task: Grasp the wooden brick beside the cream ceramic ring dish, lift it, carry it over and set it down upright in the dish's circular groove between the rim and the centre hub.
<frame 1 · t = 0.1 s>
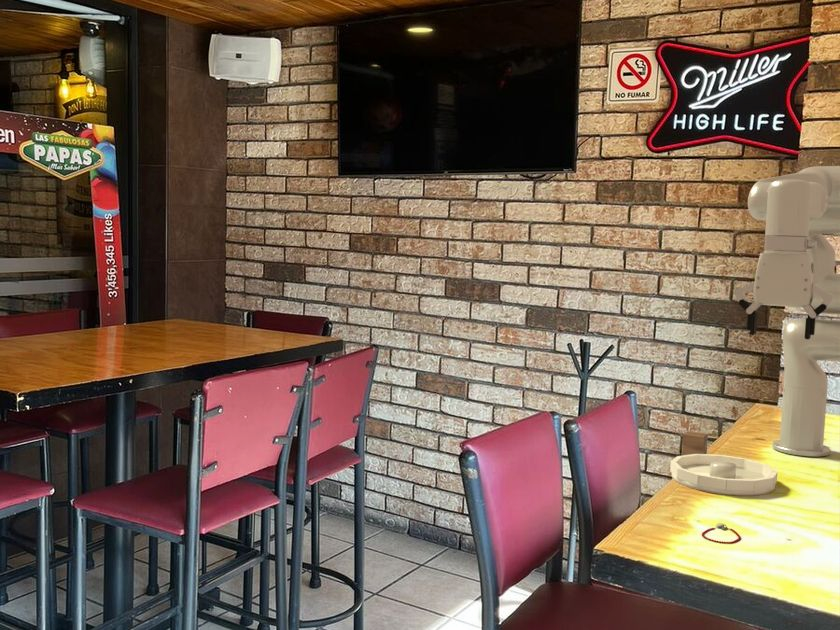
hand: (779, 336, 159), 31 cm above the table, fingers open, 9 cm apart
wooden brick: (694, 460, 189), on the table
red cord bracelet: (722, 537, 140), on the table
dish: (722, 480, 172), on the table
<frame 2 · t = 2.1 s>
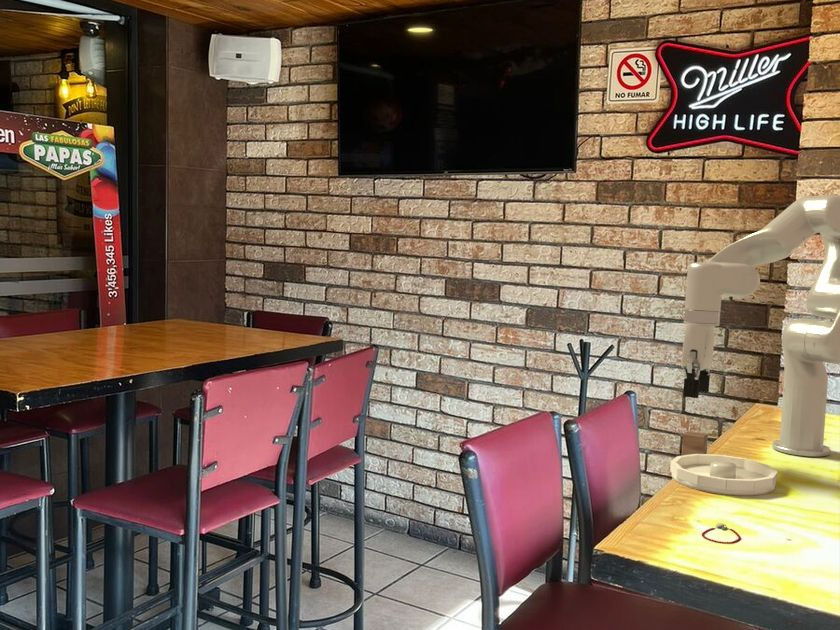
hand: (696, 394, 187), 15 cm above the table, fingers open, 9 cm apart
nothing on the table moved.
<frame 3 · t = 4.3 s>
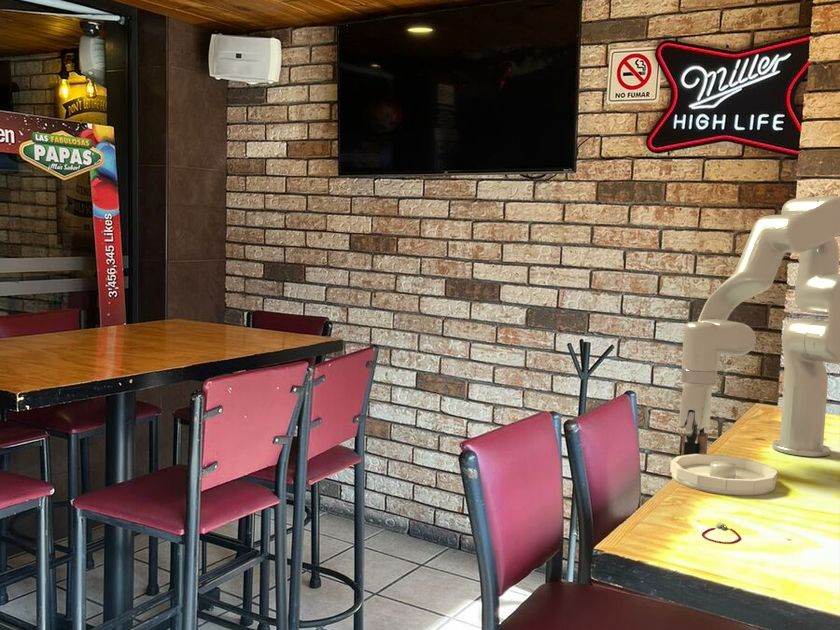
hand: (694, 456, 189), 1 cm above the table, fingers closed on wooden brick, 4 cm apart
wooden brick: (693, 459, 189), on the table, touching gripper
everything else where it was.
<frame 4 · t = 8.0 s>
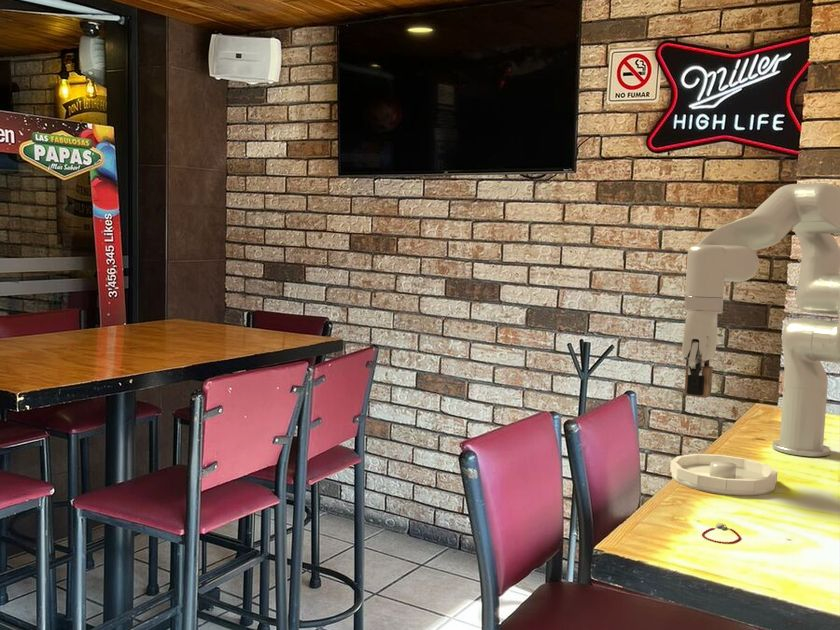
hand: (698, 392, 174), 18 cm above the table, fingers closed on wooden brick, 4 cm apart
wooden brick: (697, 395, 175), point 17 cm above the table, touching gripper
everything else where it was.
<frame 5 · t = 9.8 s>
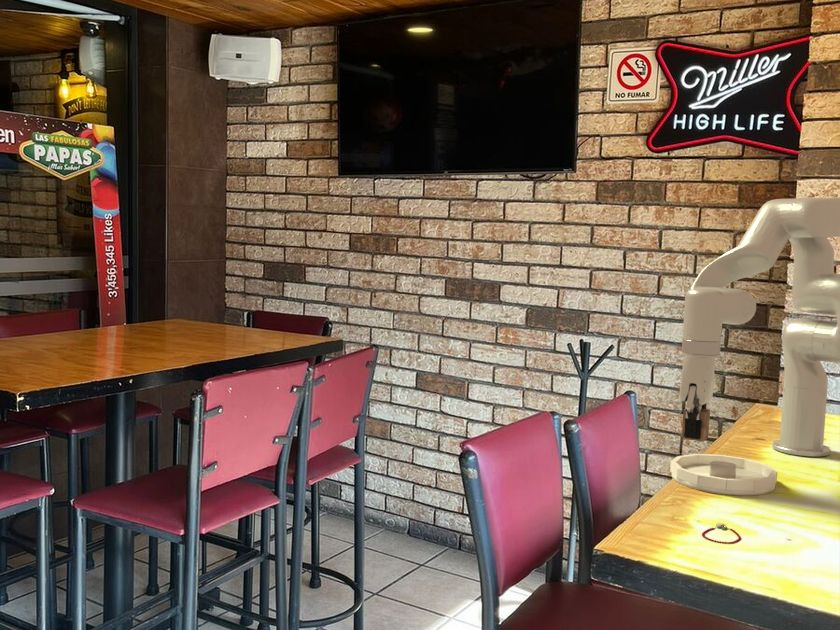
hand: (695, 435, 174), 9 cm above the table, fingers closed on wooden brick, 4 cm apart
wooden brick: (694, 438, 174), point 8 cm above the table, touching gripper
everything else where it was.
when the fingers open (3 cm above the table, at t = 11.6 s): wooden brick drops 1 cm, resting on dish.
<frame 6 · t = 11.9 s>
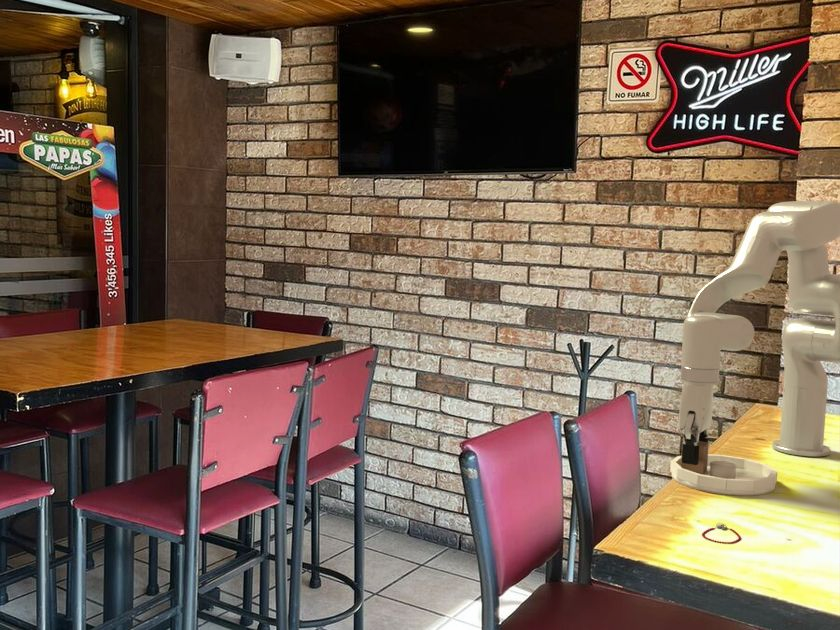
hand: (694, 459, 175), 4 cm above the table, fingers open, 7 cm apart
wooden brick: (693, 471, 175), point 1 cm above the table, touching dish
everything else where it was.
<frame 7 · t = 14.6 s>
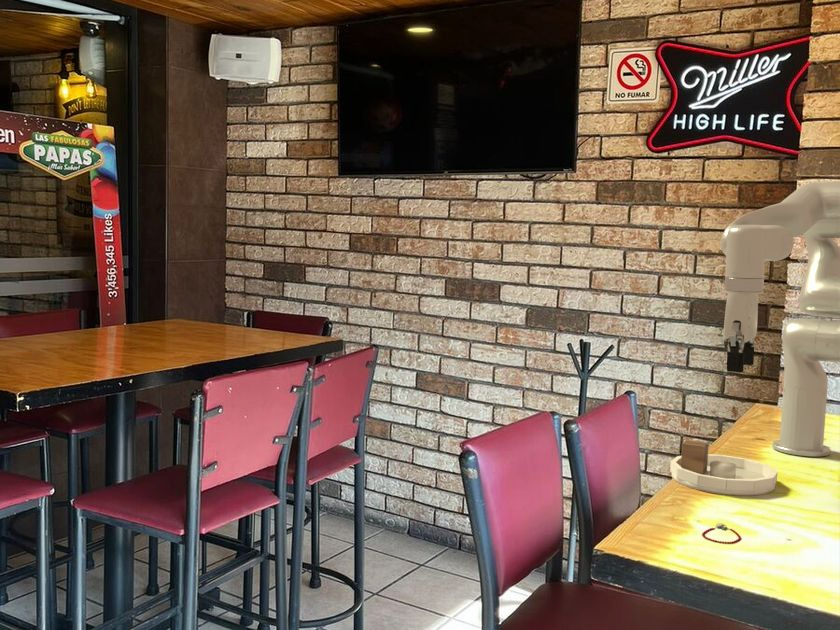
hand: (740, 368, 175), 23 cm above the table, fingers open, 9 cm apart
nothing on the table moved.
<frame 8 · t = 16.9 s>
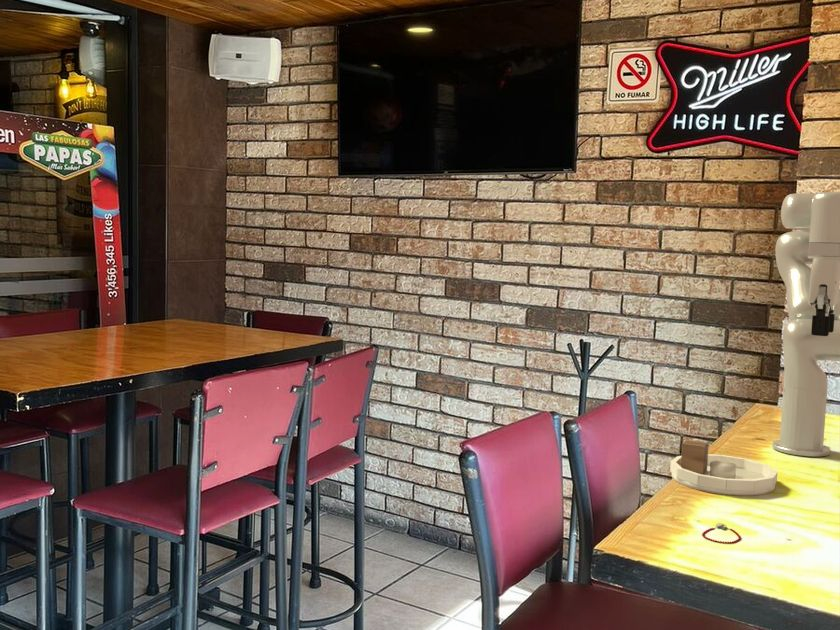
hand: (822, 333, 176), 30 cm above the table, fingers open, 9 cm apart
nothing on the table moved.
at the end: wooden brick 0.1 cm from the target spot on the dish, point 1.0 cm above the dish's base; wooden brick tilted 0°; the gripper is holding nothing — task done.
